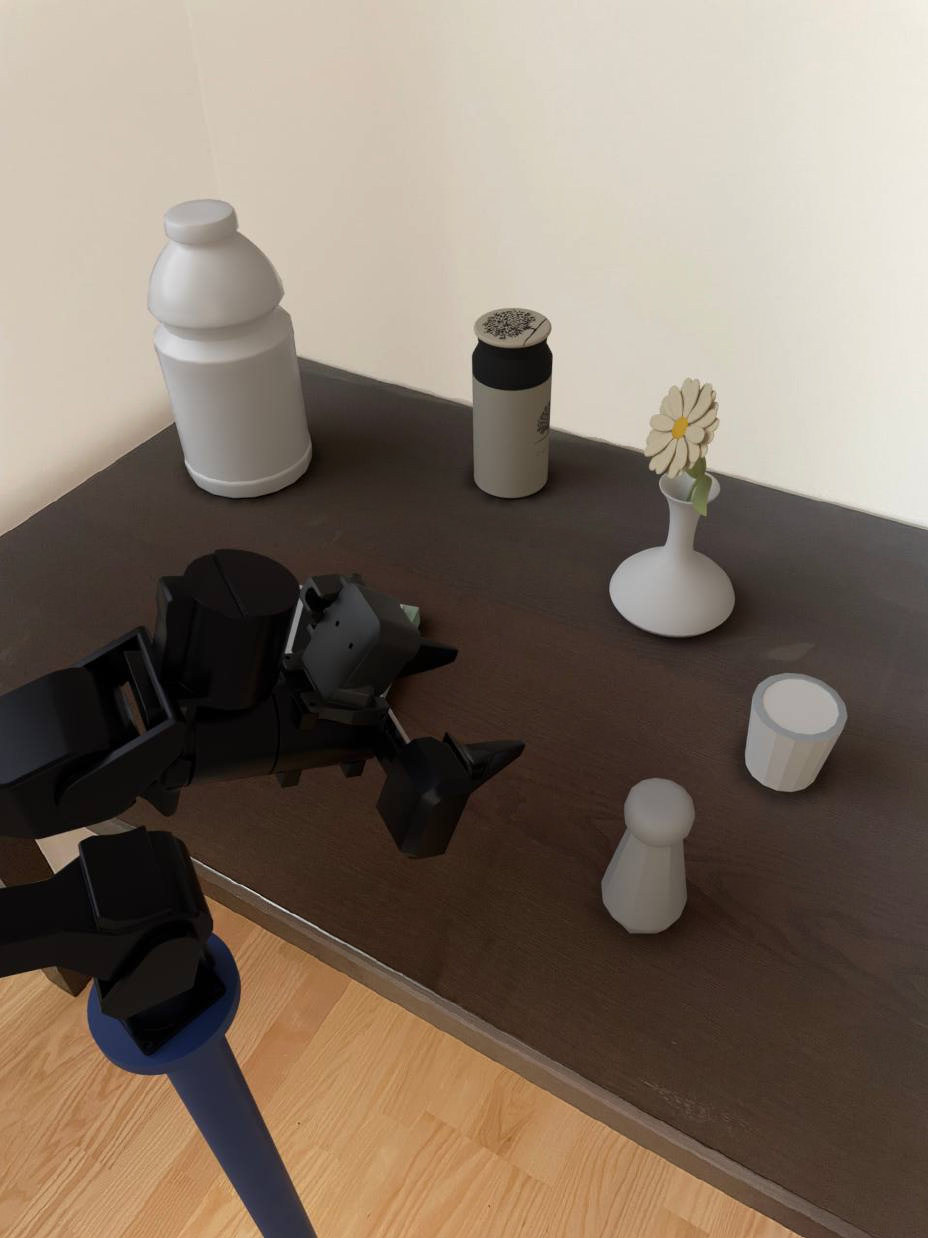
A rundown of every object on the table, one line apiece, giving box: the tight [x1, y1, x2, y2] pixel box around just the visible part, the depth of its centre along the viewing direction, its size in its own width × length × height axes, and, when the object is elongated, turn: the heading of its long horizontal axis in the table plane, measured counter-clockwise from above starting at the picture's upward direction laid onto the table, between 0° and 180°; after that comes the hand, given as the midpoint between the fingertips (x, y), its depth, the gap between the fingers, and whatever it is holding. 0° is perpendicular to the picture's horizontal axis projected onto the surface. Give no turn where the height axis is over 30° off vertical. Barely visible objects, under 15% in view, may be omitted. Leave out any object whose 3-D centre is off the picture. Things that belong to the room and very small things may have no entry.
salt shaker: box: [601, 777, 696, 934], centre depth 64 cm, size 6×6×13 cm
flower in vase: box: [609, 377, 736, 638], centre depth 82 cm, size 13×11×25 cm
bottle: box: [146, 198, 313, 499], centre depth 99 cm, size 14×14×28 cm
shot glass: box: [744, 672, 849, 793], centre depth 75 cm, size 7×7×7 cm
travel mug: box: [471, 307, 554, 499], centre depth 100 cm, size 8×8×18 cm
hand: (487, 698), depth 64 cm, fingers open, 9 cm apart
